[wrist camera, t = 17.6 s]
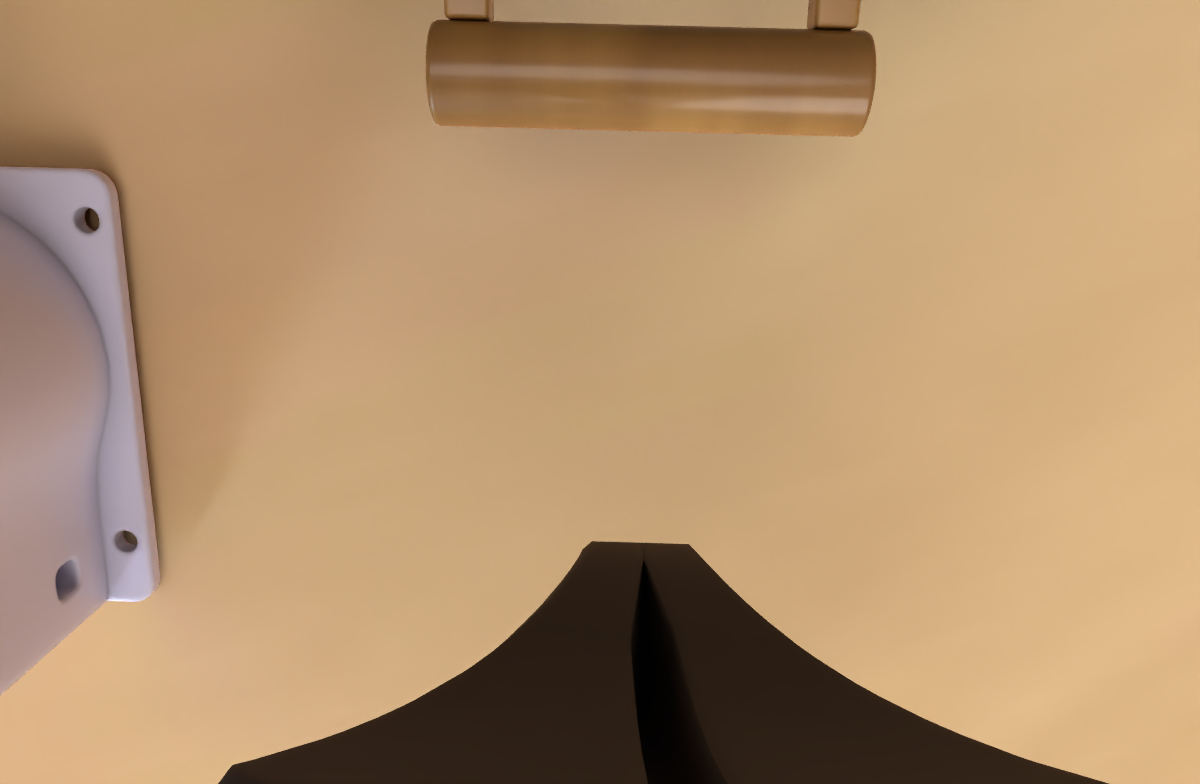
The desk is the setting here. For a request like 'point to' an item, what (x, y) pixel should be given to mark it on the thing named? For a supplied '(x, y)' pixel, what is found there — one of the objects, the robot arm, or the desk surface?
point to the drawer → (652, 74)
